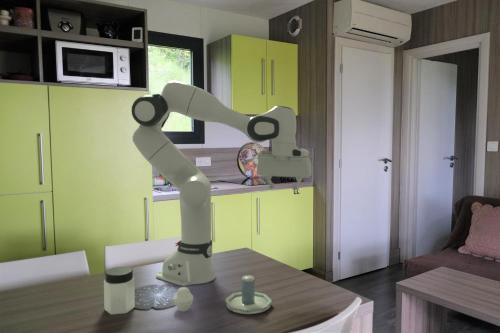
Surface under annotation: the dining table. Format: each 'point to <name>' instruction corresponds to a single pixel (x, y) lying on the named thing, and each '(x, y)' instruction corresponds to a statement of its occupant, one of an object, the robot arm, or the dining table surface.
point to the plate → (259, 305)
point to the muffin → (183, 299)
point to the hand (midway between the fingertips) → (283, 188)
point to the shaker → (248, 290)
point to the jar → (119, 290)
